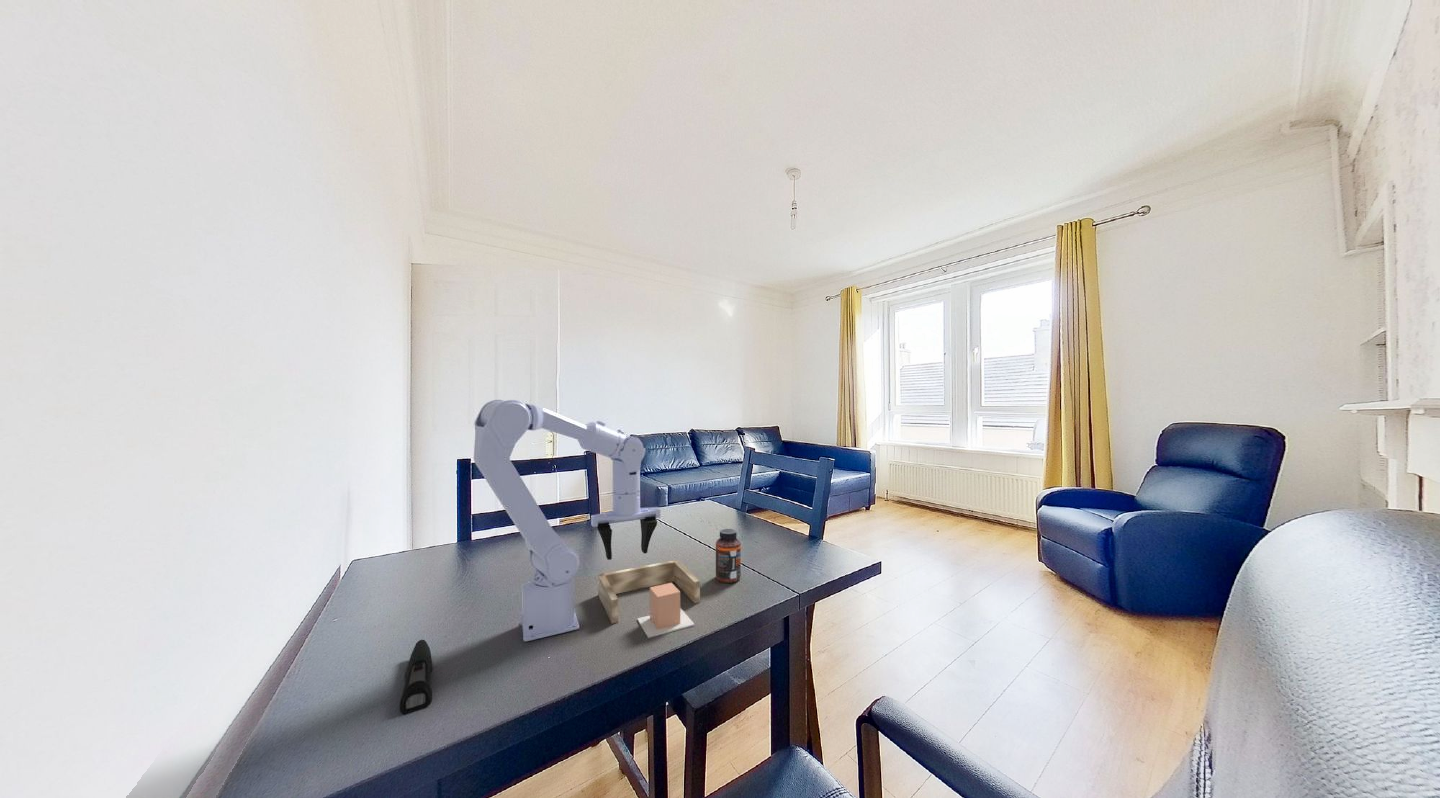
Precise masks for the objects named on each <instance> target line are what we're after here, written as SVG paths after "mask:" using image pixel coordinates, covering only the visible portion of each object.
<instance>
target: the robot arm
mask: <svg viewBox="0 0 1440 798" xmlns="http://www.w3.org/2000/svg"><path fill="white" fill-rule="evenodd" d="M473 424H474V430H475V431H474V432H475V433H474V446H473V447H474V448H473V461H474V464H475V465H476V467H477V469H478V470H479V472H480V473H481V475H482V476H483V477H484V479H485V481H486V483H487V484H488V485H489V487H490V489H491V490H492V491H493V493H494V495H495V496H496V498H497V500H498V501H499V502H500V504H501V505H502V507H503V509H504V510H505V511H506V513H507V515H508V516H509V518H510V519H511V521H512V522H513V524H514V525H515V527H516V529H517V530H518V532H519V533H520V535H521V536H522V538H523V539H524V541H525V543H524V545H525V546H526V548H527V550H528V554H529V556H528V557H529V559H528V560H529V562H530V564H531V566H532V567H533V568H535V572H534V574H533V579H532V580H529V581H527V582H524V583H521V614H520V621H519V622H520V626H521V627H522V636H523V637H522V639H523V642H529V641H534V640H538V639H542V638H546V637H550V636H551V637H552V636H554V635H559V634H563V633H564V634H565V633H567V632H571V631H575V630H578V629H580V624H579V620H578V618H577V614H576V611H575V575H576V573H577V572H578V570H579V566H580V557H579V554H578V553H577V552H576V550H574V549H573V548H571V547H568V546H567V544H566V543H565V542H564V540H562V538H561V537H560V535H558V533H557V532H556V531H555V530H554V529H553V528H552V526H551V524H550V522H549V520H547V518H546V516H545V514H544V513H543V511H542V510H541V508H540V507H539V504H538V503H537V502H536V500H535V498H534V497H533V495H532V493H531V492H530V490H529V488H528V487H527V485H526V483H525V482H524V480H523V478H522V476H521V475H520V474H519V472H518V470H517V469H516V467H515V466H514V464H513V462H512V461H511V455H512V453H513V451H514V448H515V446H516V444H517V442H518V441H519V440H520V439H521V438H522V437H523V436H524V434H526V432H527V431H532V432H533V431H536V430H541V429H542V430H546V431H550V432H552V433H556V434H559V435H562V436H564V437H565V436H566V437H568V438H571V439H575V440H577V442H578V443H579V446H580V447H581V449H583V450H585V451H588V452H591V453H594V454H598V455H600V456H603V457H606V458H609V459H610V460H611V461H612V510H611V511H608V512H603V513H597V514H592V515H590V525H591V527H592V528H596V529H597V531H598V533H599V536H600V538H601V540H602V544H603V546H604V552H605V558H606V559H607V561H610V560H612V558H613V553H612V536H613V535H612V534H613V530H612V528H611V525H610V524H618V523H624V522H631V521H640V531H641V534H640V535H641V538H640V541H641V542H640V549H641V552H642V553H643V554H647V553H648V551H649V545H650V541H651V538H652V535H653V534H654V531H655V529H656V527H657V526H658V525H657V524H658V520H657V519H661V508H660V507H658V506H654V507H641V467H642V466H641V463H642V460H643V459H644V457H645V455H646V448H645V447H644V444H643V441H641V439H640V438H638V437H637V436H631V435H625V431H624V430H622V429H618V430H615V429H613V428H611V427H608V426H606V422H604V421H600V420H597V421H596V422H595V421H590V422H588V423H585V424H583V423H580V422H578V421H576V420H573V419H571V418H568V417H566V416H564V415H561V414H559V413H557V412H554V411H552V410H549V409H547V408H545V407H542V406H538V405H535V404H530V403H524V402H522V401H520V400H516V399H508V400H502V399H494V400H490V401H488V402H487V403H485V404H483V406H482V407H481V408H480V411H479V412H478V414H477V417H475V419H474V423H473Z"/></svg>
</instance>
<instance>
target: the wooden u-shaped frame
mask: <svg viewBox="0 0 1440 798" xmlns="http://www.w3.org/2000/svg"><path fill="white" fill-rule="evenodd" d="M673 582H674V583H675V584H676V585H677V586H678V587H679V588H680V589H681V591H682V592H683V593H684V594H685V595H686V596H687V597H688V598H689V600H691V602H693V603H694V604H698V603H701V581H700V579H698V578H697V577H696V576H695V575H694V574H693V573H692V572H691V571H690V570H689V569H688V568H687V567H686V566H685V565H683V564H682V563H681V562H680V561H679V560H678V559H674V560H673V559H672V560H668V561H663V562H657V563H653V564H646V565H641V566H637V567H631V568H627V569H625V568H624V569H620V570H616V571H610V572H605V573H600V574H599V573H598V574H597V595H598V598H599V600H600V602H601V604H602V606H603V608H604V611H605V612H606V615H607V616H608V619H609V620H610V623H611V624H616V623H619V597H618V596H617V595H618V594H621V593H626V592H631V591H636V590H641V589H645V588H650V587H654V586H659V585H663V584H668V583H673ZM616 594H617V595H616Z"/></svg>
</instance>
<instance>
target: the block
mask: <svg viewBox="0 0 1440 798" xmlns="http://www.w3.org/2000/svg"><path fill="white" fill-rule="evenodd" d="M680 608H681V591H680V590H679V588H677V587H676V586H675V584H673V582H669V583H664V584H660V585H655V586H650V587H649V615H650V619H651V620H652V622H653V623H654V625H655V626H656V628H657V629H661V628H665V627H669V626H672V625H676V624H680Z"/></svg>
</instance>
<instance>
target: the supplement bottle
mask: <svg viewBox="0 0 1440 798" xmlns="http://www.w3.org/2000/svg"><path fill="white" fill-rule="evenodd" d="M741 549H742V548H741V541H740V539H738V538H737V530H735V529H732V528H724V529H720V530H719V538H718V539H716V541H715V578H716V580H717V581H718V582H721V583H725V584H726V583H727V584H728V583H731V584H732V583H736V582H738V581H739V580H740V579H741V577H742V576H741V575H742V574H741V573H742V571H741V569H742V567H741V566H742V565H741V564H742V563H741V557H742V556H741V555H742V554H741V553H742V552H741Z"/></svg>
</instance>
